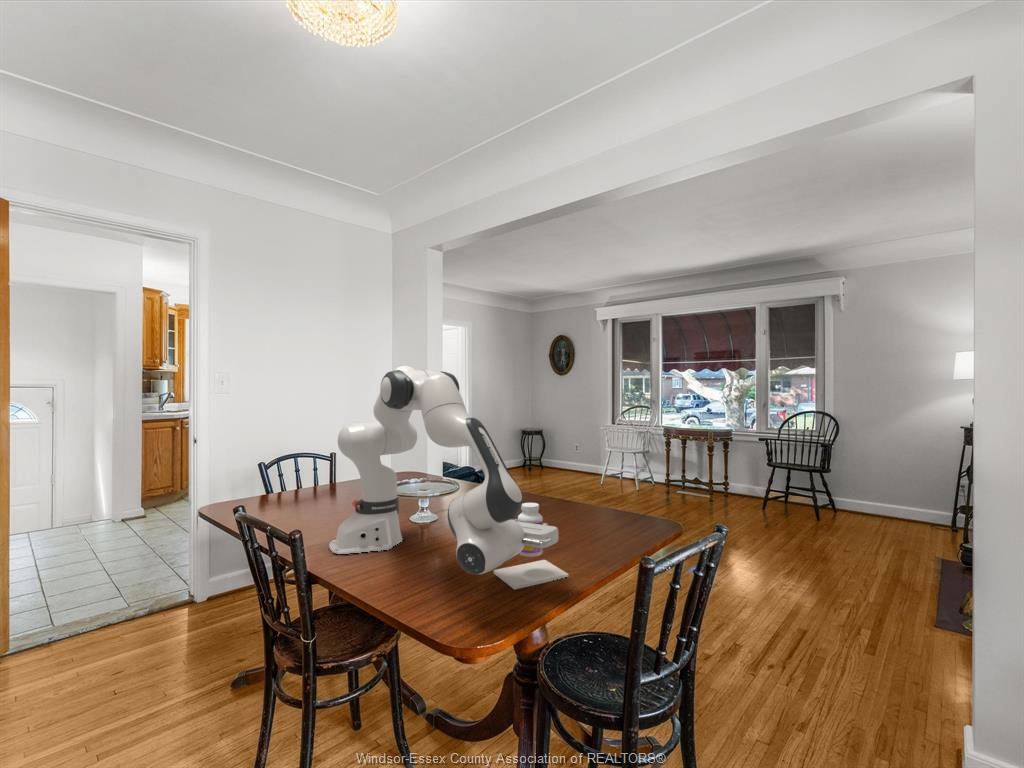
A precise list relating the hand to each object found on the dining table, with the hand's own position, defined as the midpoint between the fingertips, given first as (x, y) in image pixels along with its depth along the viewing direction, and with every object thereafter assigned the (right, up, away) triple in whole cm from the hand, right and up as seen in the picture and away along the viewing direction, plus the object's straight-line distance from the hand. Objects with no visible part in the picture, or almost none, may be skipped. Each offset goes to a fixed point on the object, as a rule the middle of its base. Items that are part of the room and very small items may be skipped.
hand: (531, 524), depth 131 cm
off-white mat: (0, -13, -1) cm, 13 cm away
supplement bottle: (0, -8, -1) cm, 8 cm away
